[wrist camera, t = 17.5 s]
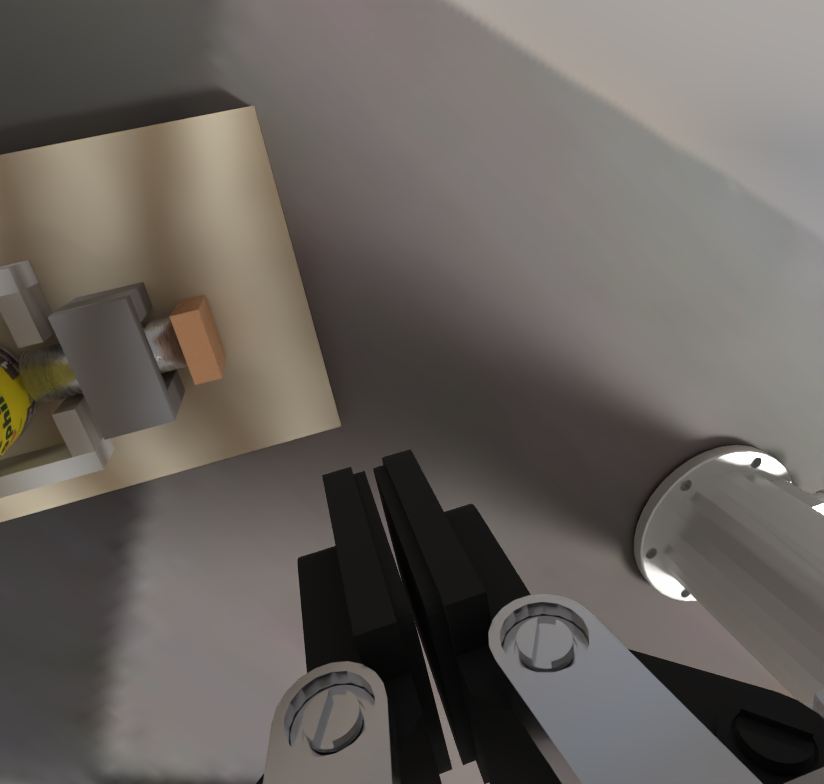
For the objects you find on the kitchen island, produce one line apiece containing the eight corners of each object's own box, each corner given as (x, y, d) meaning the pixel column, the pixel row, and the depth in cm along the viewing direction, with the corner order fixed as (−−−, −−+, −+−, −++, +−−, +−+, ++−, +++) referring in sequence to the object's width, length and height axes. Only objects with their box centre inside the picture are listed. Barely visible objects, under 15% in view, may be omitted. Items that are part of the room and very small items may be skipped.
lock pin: (204, 294, 27) (198, 309, 24) (226, 357, 29) (222, 378, 26) (27, 337, 26) (-2, 358, 23) (58, 399, 27) (34, 427, 25)
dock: (254, 108, 26) (252, 95, 22) (338, 417, 33) (350, 457, 28) (-349, 225, 23) (-501, 240, 18) (-123, 546, 29) (-195, 616, 25)
